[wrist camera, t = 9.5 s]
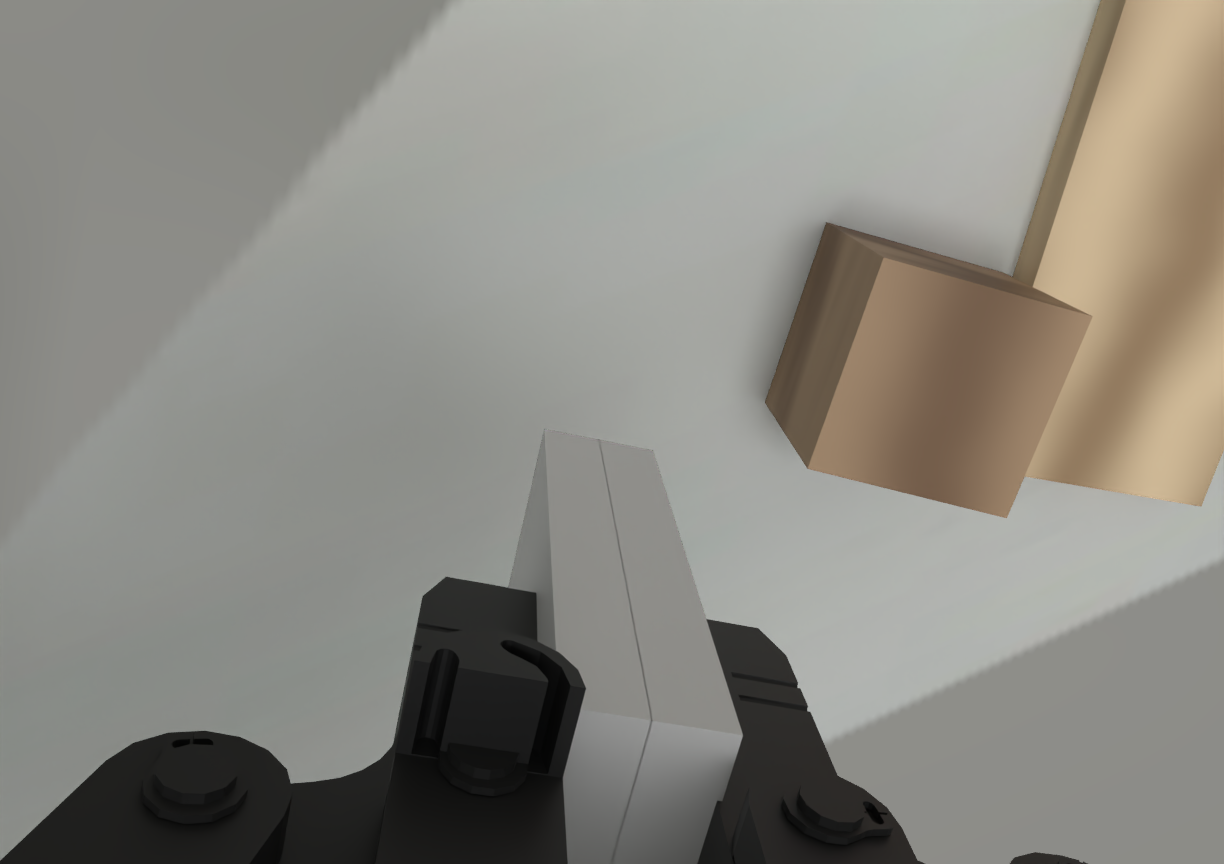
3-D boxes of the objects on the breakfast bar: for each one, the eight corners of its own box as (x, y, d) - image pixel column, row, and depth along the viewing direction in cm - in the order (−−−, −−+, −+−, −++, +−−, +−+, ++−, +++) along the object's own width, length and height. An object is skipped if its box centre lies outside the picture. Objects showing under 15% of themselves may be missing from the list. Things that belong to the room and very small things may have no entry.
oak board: (951, 446, 37) (973, 467, 35) (1160, -214, 31) (1201, -231, 29) (1168, 483, 38) (1201, 506, 36) (1412, -148, 32) (1467, -160, 30)
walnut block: (764, 401, 36) (807, 468, 30) (825, 222, 34) (883, 257, 28) (934, 445, 37) (1006, 518, 31) (1002, 272, 35) (1092, 316, 29)
